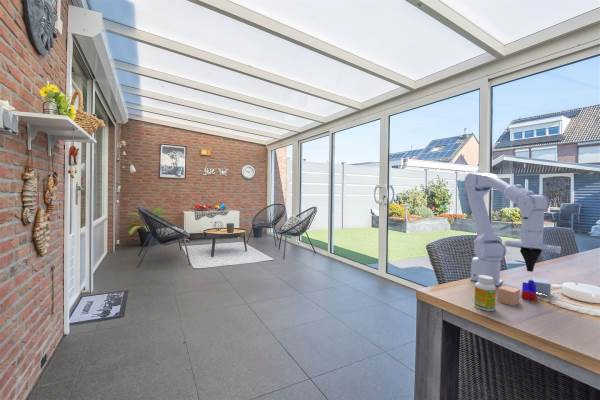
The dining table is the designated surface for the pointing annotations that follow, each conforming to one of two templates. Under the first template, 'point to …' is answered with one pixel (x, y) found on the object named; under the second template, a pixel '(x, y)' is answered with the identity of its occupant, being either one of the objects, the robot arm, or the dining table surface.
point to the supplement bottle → (485, 293)
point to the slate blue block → (542, 286)
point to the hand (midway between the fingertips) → (530, 270)
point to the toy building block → (529, 290)
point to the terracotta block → (508, 295)
